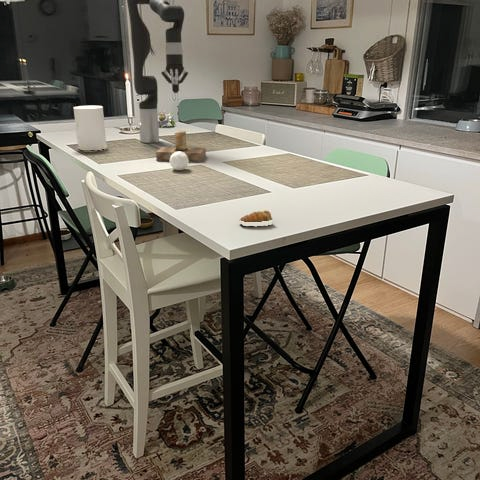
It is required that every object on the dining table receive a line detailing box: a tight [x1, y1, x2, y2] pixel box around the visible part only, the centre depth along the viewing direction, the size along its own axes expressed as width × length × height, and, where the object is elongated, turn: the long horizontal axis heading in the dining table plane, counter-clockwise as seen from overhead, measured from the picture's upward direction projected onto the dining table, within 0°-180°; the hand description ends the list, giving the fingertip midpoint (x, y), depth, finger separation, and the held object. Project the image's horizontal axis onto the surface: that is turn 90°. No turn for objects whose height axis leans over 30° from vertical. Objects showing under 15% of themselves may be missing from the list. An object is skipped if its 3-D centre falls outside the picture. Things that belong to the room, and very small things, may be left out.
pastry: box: [239, 210, 273, 222], centre depth 140 cm, size 9×7×4 cm
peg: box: [174, 130, 187, 151], centre depth 219 cm, size 4×4×12 cm
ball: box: [169, 151, 190, 171], centre depth 200 cm, size 8×8×8 cm
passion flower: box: [158, 110, 176, 129], centre depth 306 cm, size 11×11×12 cm
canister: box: [73, 105, 108, 151], centre depth 239 cm, size 14×14×20 cm
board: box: [155, 146, 207, 163], centre depth 221 cm, size 20×12×4 cm, turn 83°
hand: (175, 92), depth 230 cm, fingers closed
